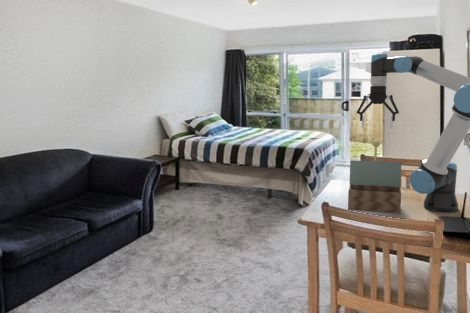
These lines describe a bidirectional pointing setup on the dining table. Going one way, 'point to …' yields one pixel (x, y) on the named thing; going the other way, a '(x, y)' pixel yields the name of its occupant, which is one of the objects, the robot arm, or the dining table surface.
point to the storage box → (374, 198)
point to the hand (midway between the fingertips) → (376, 127)
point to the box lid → (375, 172)
